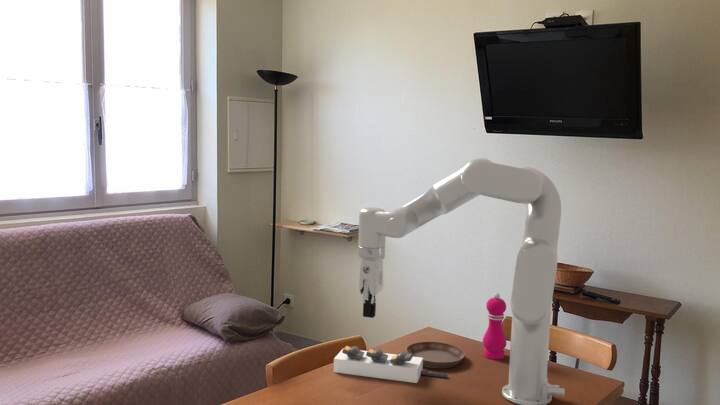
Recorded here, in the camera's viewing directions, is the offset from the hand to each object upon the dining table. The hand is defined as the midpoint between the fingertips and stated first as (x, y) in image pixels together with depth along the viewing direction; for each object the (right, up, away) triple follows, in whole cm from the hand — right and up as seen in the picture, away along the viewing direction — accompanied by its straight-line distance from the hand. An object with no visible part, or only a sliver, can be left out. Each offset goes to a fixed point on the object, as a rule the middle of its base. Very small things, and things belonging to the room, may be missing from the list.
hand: (369, 316), depth 172 cm
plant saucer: (+20, -16, +14) cm, 29 cm away
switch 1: (-5, -12, +2) cm, 13 cm away
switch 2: (+9, -13, -1) cm, 16 cm away
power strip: (+6, -17, +2) cm, 18 cm away
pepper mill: (+39, -16, +18) cm, 46 cm away
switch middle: (+2, -12, +1) cm, 13 cm away
